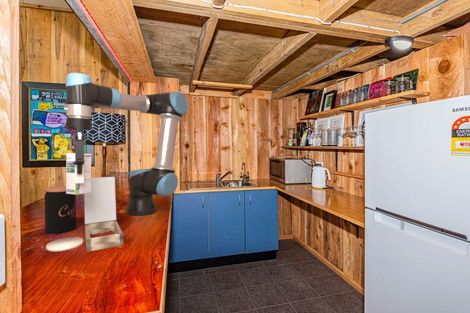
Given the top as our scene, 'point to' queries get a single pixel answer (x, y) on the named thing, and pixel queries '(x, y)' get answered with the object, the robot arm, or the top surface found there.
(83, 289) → the top surface
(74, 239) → the saucer
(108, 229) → the box
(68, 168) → the syrup box
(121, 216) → the top surface
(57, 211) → the coffee jar
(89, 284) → the top surface
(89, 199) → the lid
